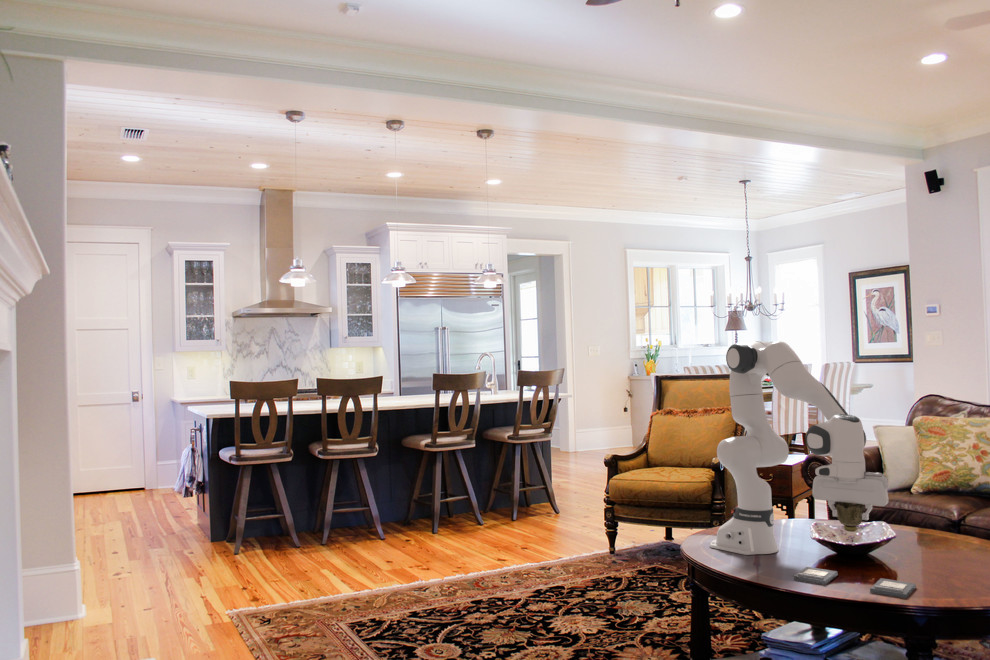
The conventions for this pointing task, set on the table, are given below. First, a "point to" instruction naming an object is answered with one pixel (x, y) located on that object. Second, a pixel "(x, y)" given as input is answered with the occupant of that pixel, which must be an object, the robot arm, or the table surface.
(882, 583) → the plates
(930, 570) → the table surface
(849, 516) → the cup
